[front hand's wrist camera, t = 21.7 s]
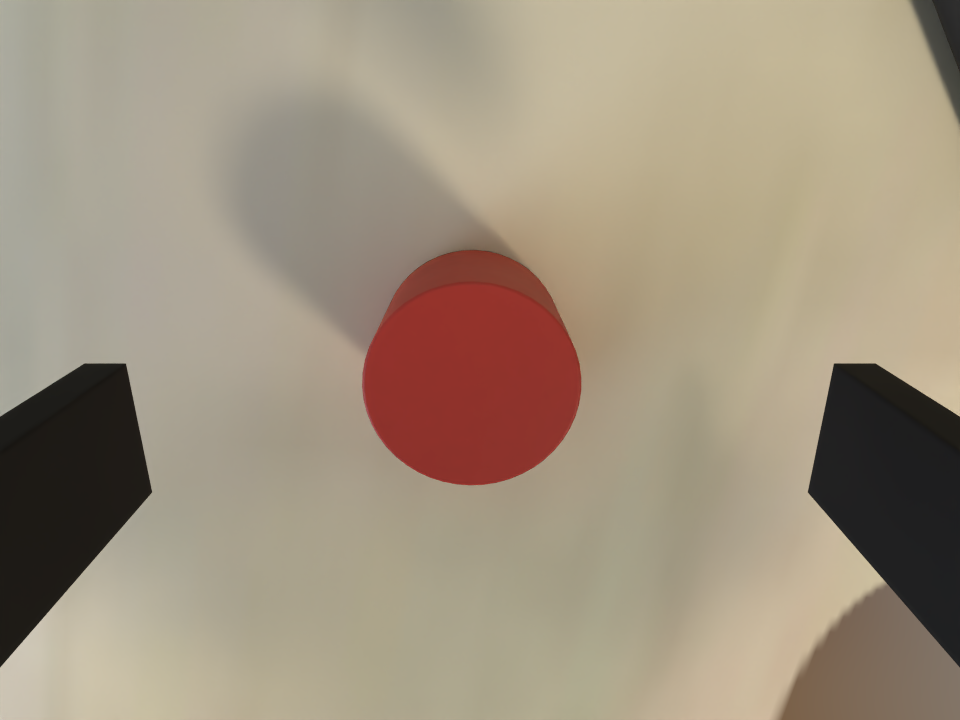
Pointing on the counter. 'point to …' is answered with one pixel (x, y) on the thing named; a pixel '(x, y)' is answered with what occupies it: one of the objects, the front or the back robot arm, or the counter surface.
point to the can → (471, 370)
